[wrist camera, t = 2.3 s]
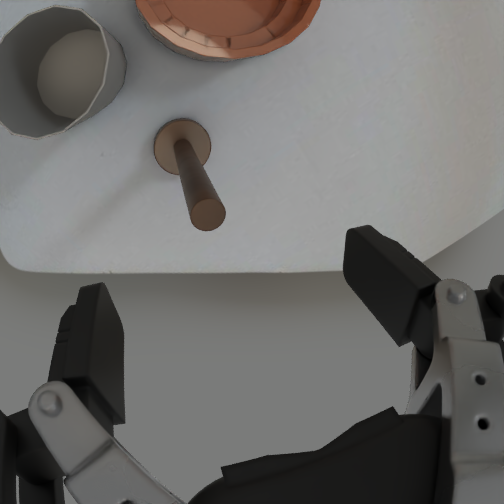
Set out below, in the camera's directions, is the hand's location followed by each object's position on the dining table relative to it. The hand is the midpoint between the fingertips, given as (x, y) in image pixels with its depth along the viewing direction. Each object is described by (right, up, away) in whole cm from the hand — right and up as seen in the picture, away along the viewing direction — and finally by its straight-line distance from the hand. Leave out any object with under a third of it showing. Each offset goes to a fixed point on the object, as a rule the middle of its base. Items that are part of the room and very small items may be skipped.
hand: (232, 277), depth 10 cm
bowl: (-2, +24, +10) cm, 26 cm away
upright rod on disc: (-6, +10, +17) cm, 21 cm away
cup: (-14, +16, +11) cm, 24 cm away
